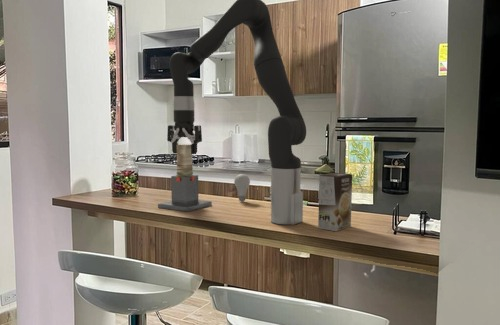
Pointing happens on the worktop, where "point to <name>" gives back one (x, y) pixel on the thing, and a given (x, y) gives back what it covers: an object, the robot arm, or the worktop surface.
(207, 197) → the worktop surface
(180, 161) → the column
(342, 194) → the coffee box
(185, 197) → the stand
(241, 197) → the lightbulb
